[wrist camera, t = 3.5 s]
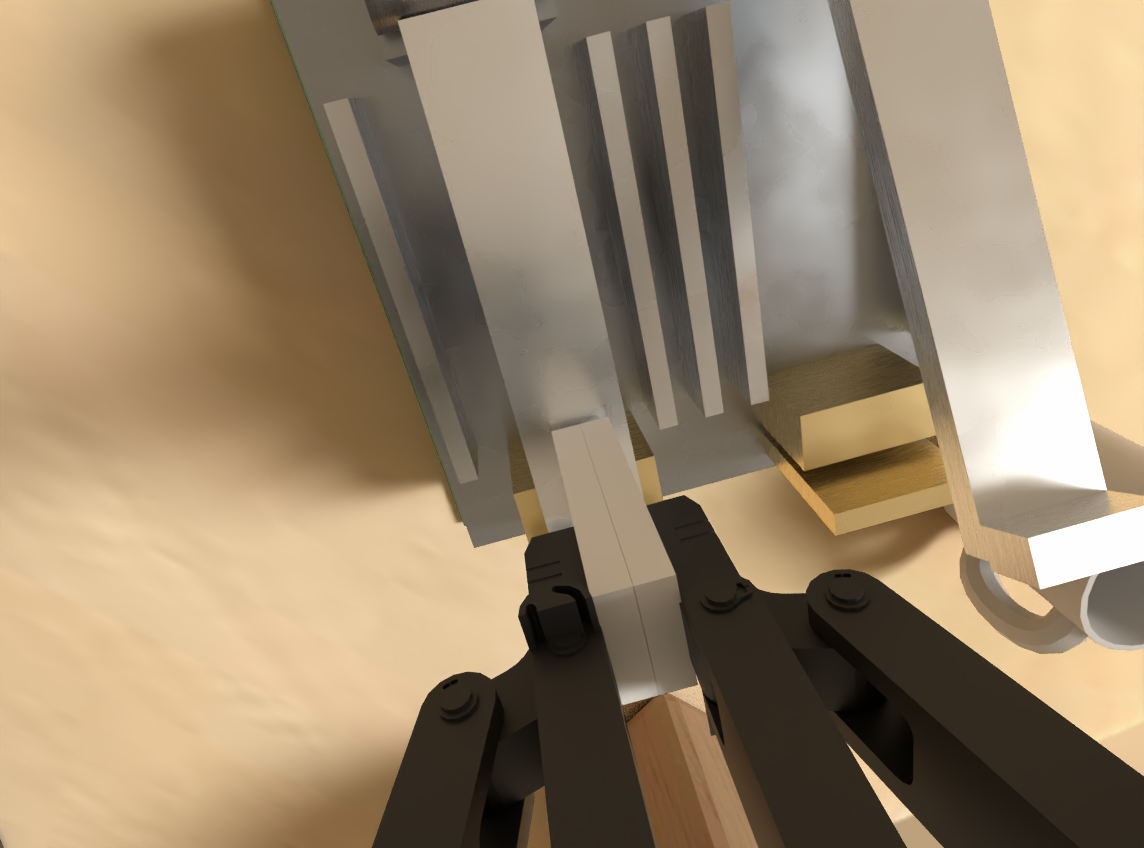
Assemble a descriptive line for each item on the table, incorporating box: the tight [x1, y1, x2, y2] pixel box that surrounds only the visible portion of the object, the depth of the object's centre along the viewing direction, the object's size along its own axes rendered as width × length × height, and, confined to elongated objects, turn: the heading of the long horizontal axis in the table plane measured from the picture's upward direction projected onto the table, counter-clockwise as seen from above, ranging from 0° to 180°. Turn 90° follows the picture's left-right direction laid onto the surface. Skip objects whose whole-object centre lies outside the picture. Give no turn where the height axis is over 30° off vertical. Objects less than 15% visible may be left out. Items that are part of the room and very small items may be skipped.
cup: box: [943, 420, 1144, 654], centre depth 29 cm, size 7×10×9 cm
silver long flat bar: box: [827, 0, 1144, 589], centre depth 14 cm, size 4×15×2 cm, turn 13°
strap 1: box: [365, 0, 644, 533], centre depth 16 cm, size 4×15×2 cm, turn 13°
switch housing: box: [270, 0, 953, 548], centre depth 21 cm, size 20×21×10 cm
